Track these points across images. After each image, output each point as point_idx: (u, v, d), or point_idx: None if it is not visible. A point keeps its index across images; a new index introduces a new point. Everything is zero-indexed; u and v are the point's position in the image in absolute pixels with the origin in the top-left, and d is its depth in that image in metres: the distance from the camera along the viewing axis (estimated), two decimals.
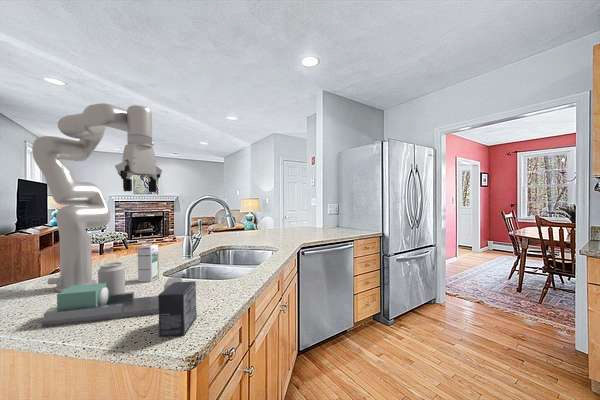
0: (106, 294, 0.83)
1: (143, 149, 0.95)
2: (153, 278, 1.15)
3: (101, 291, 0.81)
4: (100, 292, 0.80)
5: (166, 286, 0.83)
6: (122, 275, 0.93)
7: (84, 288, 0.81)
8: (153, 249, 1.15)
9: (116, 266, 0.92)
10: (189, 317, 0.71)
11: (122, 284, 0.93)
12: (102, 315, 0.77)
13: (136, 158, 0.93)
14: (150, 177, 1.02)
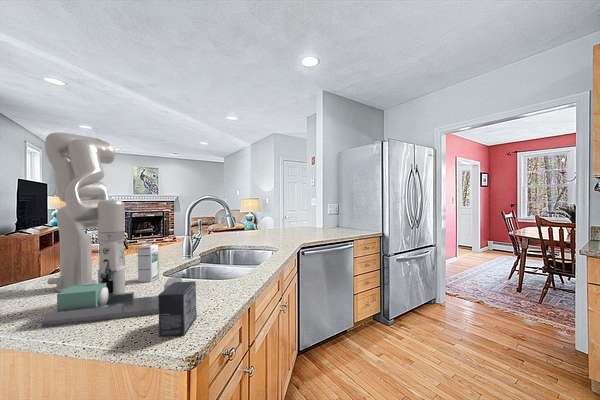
0: (106, 294, 0.83)
1: None
2: (153, 278, 1.15)
3: (101, 291, 0.81)
4: (100, 292, 0.80)
5: (166, 286, 0.83)
6: (122, 275, 0.93)
7: (84, 288, 0.81)
8: (153, 249, 1.15)
9: None
10: (189, 317, 0.71)
11: (122, 284, 0.93)
12: (102, 315, 0.77)
13: None
14: None
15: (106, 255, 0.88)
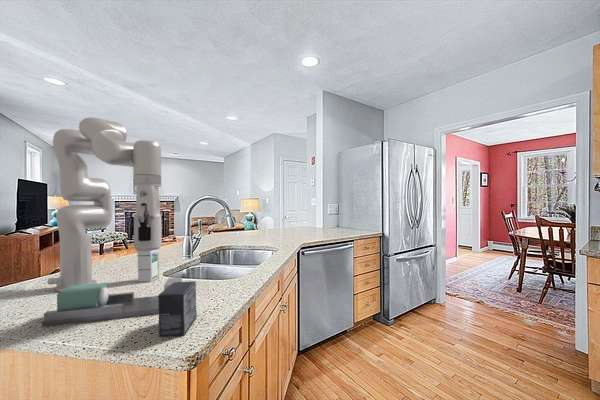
0: (106, 294, 0.83)
1: None
2: (153, 278, 1.15)
3: (101, 291, 0.81)
4: (100, 292, 0.80)
5: (166, 286, 0.83)
6: (159, 223, 0.86)
7: (84, 288, 0.81)
8: None
9: None
10: (189, 317, 0.71)
11: (159, 233, 0.86)
12: (102, 315, 0.77)
13: None
14: None
15: (144, 198, 0.81)
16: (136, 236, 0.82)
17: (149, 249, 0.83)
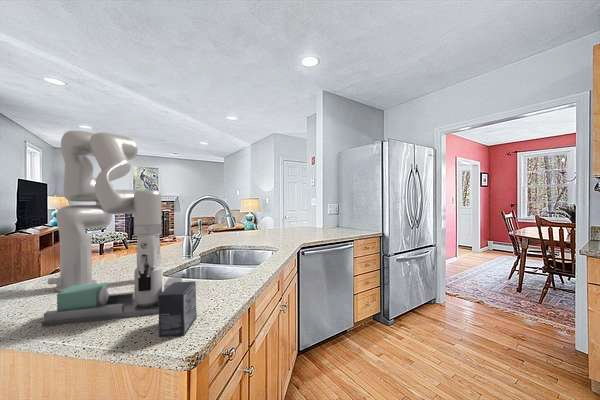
0: (106, 294, 0.83)
1: None
2: None
3: (101, 291, 0.81)
4: (100, 292, 0.80)
5: (166, 286, 0.83)
6: (160, 276, 0.86)
7: (84, 288, 0.81)
8: None
9: None
10: (189, 317, 0.71)
11: (160, 286, 0.86)
12: (102, 315, 0.77)
13: None
14: None
15: (144, 250, 0.81)
16: (136, 291, 0.82)
17: (149, 304, 0.83)
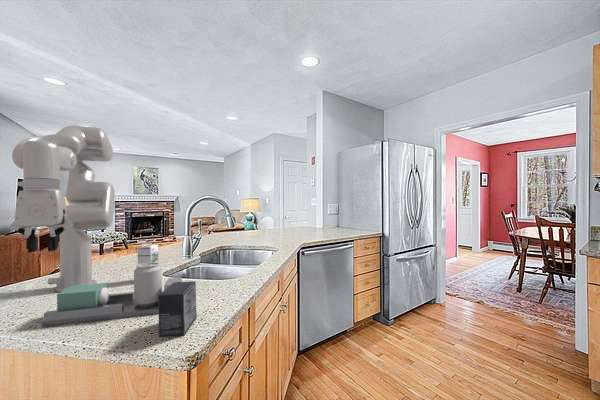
0: (106, 294, 0.83)
1: None
2: None
3: (101, 291, 0.81)
4: (100, 292, 0.80)
5: (166, 286, 0.83)
6: (159, 276, 0.86)
7: (84, 288, 0.81)
8: (153, 249, 1.15)
9: (153, 266, 0.84)
10: (189, 317, 0.71)
11: (159, 286, 0.86)
12: (102, 315, 0.77)
13: None
14: None
15: None
16: (136, 291, 0.82)
17: (149, 304, 0.83)
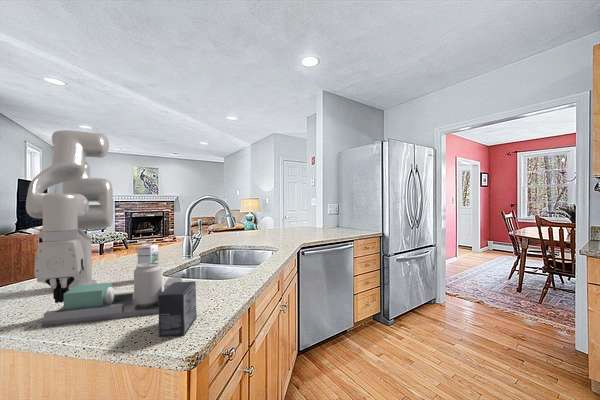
0: (112, 293, 0.84)
1: None
2: None
3: (107, 290, 0.81)
4: (106, 291, 0.81)
5: (166, 286, 0.83)
6: (159, 276, 0.86)
7: (90, 287, 0.81)
8: (153, 249, 1.15)
9: (153, 266, 0.84)
10: (189, 317, 0.71)
11: (159, 286, 0.86)
12: (102, 315, 0.77)
13: None
14: None
15: None
16: (136, 291, 0.82)
17: (149, 304, 0.83)
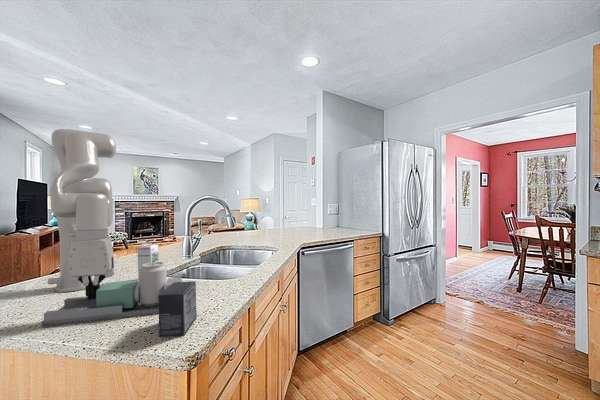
0: None
1: None
2: None
3: (136, 288, 0.83)
4: (135, 289, 0.83)
5: (166, 286, 0.83)
6: (164, 276, 0.86)
7: (120, 285, 0.83)
8: (153, 249, 1.15)
9: (158, 266, 0.85)
10: (189, 317, 0.71)
11: None
12: (102, 315, 0.77)
13: None
14: None
15: None
16: (141, 291, 0.83)
17: (154, 303, 0.83)
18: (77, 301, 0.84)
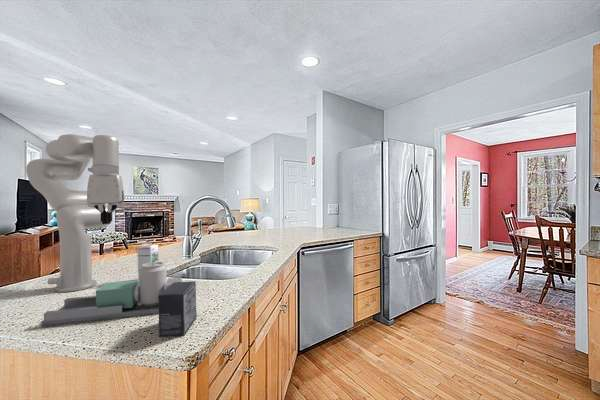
0: None
1: None
2: None
3: (136, 288, 0.83)
4: (135, 289, 0.83)
5: (166, 286, 0.83)
6: (164, 276, 0.86)
7: (120, 285, 0.83)
8: (153, 249, 1.15)
9: (158, 266, 0.85)
10: (189, 317, 0.71)
11: None
12: (102, 315, 0.77)
13: None
14: None
15: None
16: (141, 291, 0.83)
17: (154, 303, 0.83)
18: (77, 301, 0.84)
